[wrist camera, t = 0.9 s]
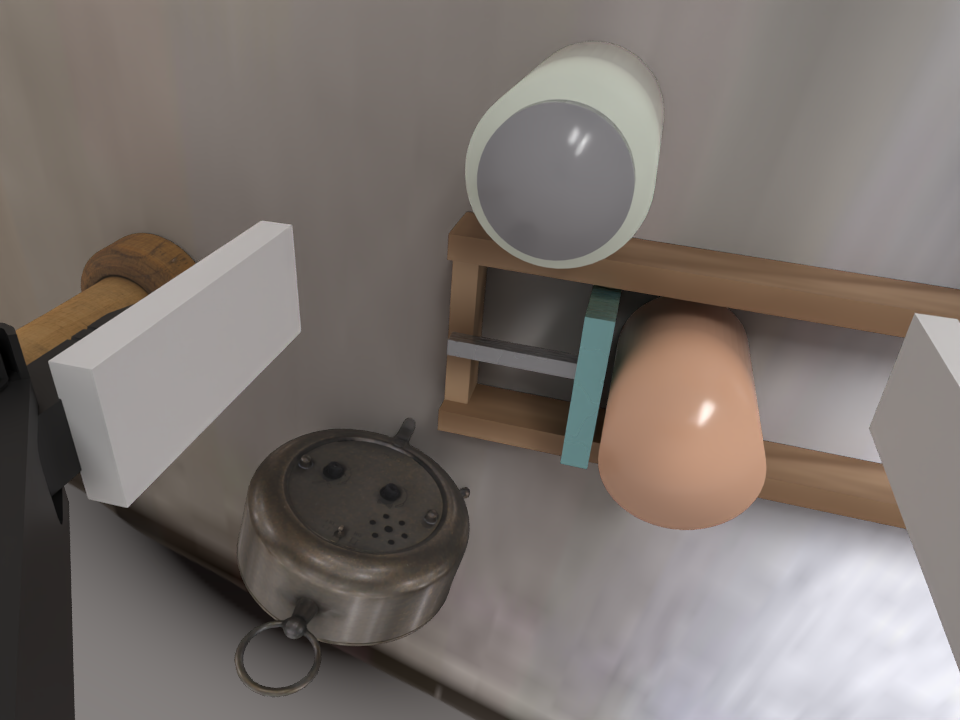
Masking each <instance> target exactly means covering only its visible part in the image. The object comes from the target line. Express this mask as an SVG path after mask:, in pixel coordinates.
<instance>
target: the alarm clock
mask: <svg viewBox="0 0 960 720" xmlns="http://www.w3.org/2000/svg"><path fill="white" fill-rule="evenodd" d="M414 429H415V421H414V420H413V419H411V418H407V419H406V420H405V421H404V422H403V425H402V427H401V428H400V430H399V432H398V434H397V435H396V436H394V437H389V436H386V435H382V434H378V433H374V432H369V431H363V430H353V429H332V430H323V431H317V432H313V433H310V434H306V435H303V436H300V437H298V438H295V439H293V440H291V441H289V442H287V443H285V444H284V445H282V446H280V447H279V448H277V449H276V450H275V451H273V452H272V453H271V454H270V455H269V456H268V457H267V458H266V459H265V460H264V461H263V462H262V463H261V464H260V466H259V467H258V468H257V470H256V472H255V474H254V476H253V477H252V479H251V482H250V485H249V488H248V493H247V497H246V503H245V508H244V513H243V518H242V524H241V529H240V533H239V537H238V543H237V561H238V566H239V570H240V574H241V576H242V579H243V581H244V583H245V585H246V587H247V589H248V591H249V592H250V594H251V595H252V597H253V598H254V599H255V601H256V602H257V603H258V604H259V605H260V606H261V607H262V608H263V609H264V610H265V612H267V613H268V614H269V615H270V616H271V617H273V618H274V619H275V620H277V621H271V622H267V623H265V624H262V625H260V626H258V627H256V628H254V629H253V630H251V631H250V632H249V633H248V634H247V635H246V636H245V637H244V638H243V639H242V640H241V642H240V644H239V646H238V648H237V650H236V653H235V659H234V660H235V665H236V670H237V673H238V676H239V678H240V679H241V681H242V682H243V683H244V685H245V686H246V687H248V688H249V689H250V690H252V691H253V692H256V693H258V694H260V695H263V696H269V697H280V696H286V695H289V694H292V693H295V692H297V691H299V690H301V689H303V688H305V687H306V686H307V685H308V684H309V683H310V682H312V680H313V679H314V678H315V676H316V674H317V673H318V671H319V667H320V663H321V648H320V644H319V642H318V641H322V642H326V643H330V644H336V645H345V646H369V645H378V644H382V643H387V642H391V641H394V640H397V639H400V638H403V637H405V636H407V635H409V634H411V633H413V632H415V631H417V630H418V629H420V628H421V627H422V626H424V625H425V624H426V623H427V622H429V621H430V620H431V619H432V618H433V617H434V616H435V615H436V614H437V612H438V611H439V610H440V608H441V607H442V605H443V604H444V602H445V600H446V598H447V595H448V593H449V590H450V586H451V584H452V581H453V579H454V576H455V574H456V571H457V569H458V567H459V565H460V562H461V560H462V558H463V555H464V553H465V550H466V547H467V543H468V538H469V516H468V511H467V507H466V504H465V501H464V499H463V498H467V497H469V495H470V489H469V488H467V487H464V488H462V489H460V490H459V489H458V487H457V486H456V484H455V483H454V481H453V480H452V479H451V477H450V476H449V475H448V474H447V473H446V471H445V470H444V469H442V468H441V467H440V466H439V465H438V464H437V463H436V462H435V461H434V460H432V459H431V458H430V457H429V456H427V455H426V454H424V453H423V452H421V451H420V450H418V449H416V448H415V447H413V446H411V445H409V443H408V442H409V439H410V437H411V435H412V434H413V431H414ZM273 627H282V628H283V630H284V633H285V635H286V636H287V637H290V638H292V639H297V638H300V637H301V636H306V637H307V638H308V640H309V641H310V642H311V643H312V645H313V648H314V653H315V660H314V664H313V666H312V668H311V670H310V672H309V673H308V675H307V676H306V677H304V678H303V679H302V680H300V681H299V682H297V683H295V684H293V685H290V686H288V687H281V688H271V687H265V686H262V685H259V684H258V683H256V682H254V681H253V680H252V679H251V678H250V676H249V675H248V674H247V672H246V671H245V668H244V664H243V654H244V651H245V648H246V646H247V644H248V642H249V641H250V640H251V639H252V638H253V637H254V636H256V635H257V634H258V633H260V632H261V631H263V630H265V629H268V628H273Z"/></svg>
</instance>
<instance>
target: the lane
mask: <svg viewBox="0 0 960 720" xmlns="http://www.w3.org/2000/svg"><path fill="white" fill-rule="evenodd" d="M447 260H452V261H453V266H452V282H451V299H450V315H449V332H448V338H449V337H450V335H451V333H452V332H458V333H463V334H468V335H474V336H479V337H481V334H482V322H483V311H484V299H485V288H486V276H487V267H493V268H499V269H505V270H510V271H516V272H522V273H528V274H534V275H540V276H546V277H552V278H557V279H563V280H569V281H575V282H581V283H587V284H593V285H598V286H604V287H610V288H616V289H622V290H628V291H634V292H640V293H645V294H651V295H657V296H663V297H669V298H675V299H681V300H687V301H692V302H698V303H704V304H710V305H716V306H722V307H728V308H733V309H739V310H745V311H751V312H757V313H763V314H769V315H775V316H780V317H786V318H792V319H798V320H804V321H810V322H816V323H822V324H827V325H833V326H839V327H845V328H851V329H857V330H863V331H868V332H874V333H880V334H886V335H892V336H898V337H904V338H905V336H906V334H907V331H908V329H909V326H910V324H911V321H912V319H913V316H914V314H915V313H917V314H925V315H932V316H939V317H946V318H953V319H958V321H959V322H960V290H959V289H953V288H947V287H940V286H934V285H928V284H921V283H915V282H909V281H902V280H896V279H890V278H883V277H877V276H871V275H864V274H858V273H852V272H845V271H839V270H833V269H826V268H820V267H814V266H807V265H801V264H795V263H788V262H782V261H776V260H770V259H763V258H757V257H751V256H744V255H738V254H732V253H725V252H719V251H713V250H706V249H700V248H694V247H687V246H681V245H675V244H668V243H662V242H656V241H649V240H643V239H637V238H631V239H630V240H629V241H628V242H627V243H626V244H625V245H624V246H623V247H621V248H620V249H619V250H617V251H616V252H615V253H613V254H611V255H610V256H608V257H606V258H604V259H602V260H600V261H598V262H595V263H593V264H589V265H585V266H582V267H576V268H564V269H556V268H547V267H542V266H538V265H534V264H531V263H528V262H526V261H523V260H521V259H519V258H517V257H515V256H513V255H512V254H510V253H509V252H507V251H506V250H504V249H503V248H502V247H500V246H499V245H498V244H497V243H496V242H495V241H494V240H493V239H492V238H491V237H490V236H489V235H488V234H487V233H486V231H485V230H484V229H483V227H482V226H481V224H480V223H479V221H478V219H477V217H476V216H475V214H474V213H472V212H466V213H465V214H464V215H463V217H462V218H461V219H460V220H459V222H458V223H457V224H456V225H455V226H454V228H453V229H452V230H451V231H450V233H449V235H448V253H447ZM478 368H479V361H477V360H472V359H467V358H461V357H456V356H451V355H447V365H446V381H445V398H444V401H443V403H442V405H441V407H440V409H439V414H438V430H441V431H446V432H451V433H455V434H460V435H465V436H470V437H474V438H479V439H484V440H488V441H493V442H498V443H503V444H507V445H512V446H517V447H522V448H526V449H531V450H536V451H540V452H545V453H550V454H555V455H559V456H562V451H563V445H564V439H565V433H566V427H567V421H568V415H569V409H570V403H571V402H568V401H563V400H558V399H553V398H548V397H543V396H537V395H532V394H527V393H522V392H517V391H512V390H507V389H502V388H497V387H492V386H487V385H482V384H477V379H478ZM605 414H606V409H603V408H599V410H598V415H597V420H596V425H595V430H594V436H593V441H592V446H591V451H590V456H589V461H588V462H592V463H597V464H598V455H599V448H600V442H601V437H602V431H603V425H604V419H605ZM763 444H764V450H765V457H766V467H767V468H766V478H765V481H764V485H763V487H762V489H761V492H760V494H759V495H758V498H762V499H767V500H772V501H777V502H781V503H786V504H791V505H796V506H800V507H805V508H810V509H814V510H819V511H824V512H829V513H833V514H838V515H843V516H847V517H852V518H857V519H862V520H866V521H871V522H876V523H881V524H885V525H890V526H895V527H899V528H904V529H906V526H905V523H904V521H903V518H902V515H901V513H900V510H899V507H898V504H897V502H896V499H895V496H894V494H893V491H892V488H891V486H890V483H889V480H888V478H887V475H886V472H885V469H884V467H883V464H880V463H875V462H870V461H865V460H860V459H855V458H850V457H845V456H839V455H834V454H829V453H824V452H819V451H814V450H809V449H804V448H799V447H794V446H789V445H784V444H779V443H774V442H769V441H764V440H763Z"/></svg>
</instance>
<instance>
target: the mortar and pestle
mask: <svg viewBox="0 0 960 720" xmlns="http://www.w3.org/2000/svg"><path fill="white" fill-rule="evenodd" d="M195 264H196V263H195V262H194V261H193V260H192V258H191V257H190V256H189V255H188V254H187V253H186V252H185V251H183V250H182V249H181V248H180V247H178V246H177V245H175V244H174V243H172V242H171V241H169V240H167V239H164V238H162V237H160V236H157V235H153V234H147V233H137V234H131V235H128V236H125V237H123V238H121V239H119V240H118V241H116V242H114V243H113V244H111V245H109V246H107V247H105V248H103V249H102V250H100V251H98V252H97V253H96V254H94V255H93V256H92V257H91V258H90V259H89V261H88V262H87V264H86V265H85V268H84V270H83V274H82V278H81V290H82V292H81V293H80V294H78V295H76V296H75V297H73V298H71V299H70V300H68V301H66V302H64V303H63V304H61V305H59V306H58V307H56V308H54V309H53V310H51V311H49V312H47V313H46V314H44V315H42V316H40V317H39V318H37V319H35V320H33V321H32V322H30V323H28V324H26V325H25V326H23V327H21V328H19V329H18V330H16V334H17V337H18V340H19V343H20V346H21V349H22V353H23V356H24V359H25V362H26V366H27V365H28V364H30V363H31V362H33V361H34V360H36V359H37V358H39V357H41V356H42V355H44V354H45V353H47V352H48V351H50V350H51V349H53V348H54V347H56V346H58V345H59V344H61V343H62V342H64V341H65V340H67V339H69V340H71V337H72V336H73V335H75V334H76V333H78V332H79V331H81V330H82V329H87V326H89V325H90V324H92V323H93V322H95V321H96V320H98V319H99V318H101V317H103V316H104V315H106V314H107V313H110V312H113V311H116V310H118V309H121V308H124V307H127V306H130V305H132V304H136V303H137V302H139V301H140V300H142V299H143V298H145V297H146V296H148V295H149V294H151V293H152V292H154V291H155V290H157V289H158V288H160V287H161V286H163V285H164V284H166V283H167V282H169V281H170V280H172V279H174V278H175V277H177V276H178V275H180V274H181V273H183V272H184V271H186V270H187V269H189V268H190V267H192V266H193V265H195Z"/></svg>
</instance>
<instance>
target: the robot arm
mask: <svg viewBox="0 0 960 720" xmlns="http://www.w3.org/2000/svg"><path fill="white" fill-rule="evenodd" d="M300 332H301V322H300V310H299V298H298V286H297V274H296V262H295V251H294V239H293V227H292V225H290V224H282V223H275V222H268V221H260V222H258V223H257V224H255V225H254V226H252V227H251V228H249V229H248V230H246V231H245V232H243V233H242V234H240V235H239V236H237V237H236V238H234V239H233V240H231V241H230V242H228V243H227V244H225V245H224V246H222V247H221V248H219V249H218V250H216V251H214V252H213V253H211V254H210V255H208V256H207V257H205V258H204V259H202V260H201V261H199V262H198V263H196V264H195V265H193V266H192V267H190V268H189V269H187V270H186V271H184V272H183V273H181V274H180V275H178V276H177V277H175V278H174V279H172V280H170V281H169V282H167V283H166V284H164V285H163V286H161V287H160V288H158V289H157V290H155V291H154V292H152V293H151V294H149V295H148V296H146V297H145V298H143V299H142V300H140V301H139V302H137V303H136V304H132V305H130V306H127V307H124V308H121V309H118V310H116V311H113V312H110V313H107V314H106V315H104V316H103V317H101V318H99V319H98V320H96V321H95V322H93V323H92V324H90V325H89V326H87V329H82V330H81V331H79V332H78V333H76V334H75V335H73V336H72V337H71V340H69V339H67V340H65V341H64V342H62V343H61V344H59V345H58V346H56V347H54V348H53V349H51V350H50V351H48V352H47V353H45V354H44V355H42V356H41V357H39V358H37V359H36V360H34V361H33V362H31V363H30V364H28V365H27V366H26V362H25V359H24V356H23V353H22V349H21V346H20V343H19V340H18V337H17V334H16V331H15V329H14V327H12V326H9V325H7V324H5V323H0V720H75V709H74V674H73V636H72V599H71V565H70V564H71V562H70V527H69V501H68V498H67V495H66V491H65V488H64V485H65V484H67V483H68V482H69V481H70V480H71V479H72V478H74V477H75V476H76V475H77V474H78V473H79V472H80V473H81V476H82V480H83V483H84V486H85V490H86V493H87V497H88V499H90V500H95V501H99V502H104V503H108V504H112V505H117V506H121V507H126V508H128V507H129V506H130V505H131V504H132V503H133V502H134V501H135V500H136V499H137V498H138V497H139V496H140V495H141V494H142V493H143V492H144V491H145V490H146V489H147V488H148V487H149V486H150V485H151V484H152V483H153V482H154V481H155V479H156V478H157V477H158V476H159V475H160V474H161V473H162V472H163V471H164V470H165V469H166V468H167V467H168V466H169V465H170V464H171V463H172V462H173V461H174V460H175V459H176V458H177V457H178V456H179V455H180V454H181V453H182V452H183V451H184V450H185V449H186V448H187V447H188V446H189V445H190V444H191V443H192V442H193V441H194V440H195V439H196V438H197V437H198V436H199V435H200V434H201V433H202V432H203V431H204V430H205V429H206V428H207V427H208V426H209V425H210V424H211V423H212V422H213V421H214V420H215V419H216V418H217V417H218V416H219V415H220V414H221V413H222V412H223V411H224V409H225V408H226V407H227V406H228V405H229V404H230V403H231V402H232V401H233V400H234V399H235V398H236V397H237V396H238V395H239V394H240V393H241V392H242V391H243V390H244V389H245V388H246V387H247V386H248V385H249V384H250V383H251V382H252V381H253V380H254V379H255V378H256V377H257V376H258V375H259V374H260V373H261V372H262V371H263V370H264V369H265V368H266V367H267V366H268V365H269V364H270V363H271V362H272V361H273V360H274V359H275V358H276V357H277V356H278V355H279V354H280V353H281V352H282V351H283V350H284V349H285V348H286V347H287V346H288V345H289V344H290V343H291V342H292V341H293V340H294V338H295V337H296V336H297V335H298V334H299V333H300ZM869 429H870V432H871V434H872V437H873V440H874V443H875V445H876V448H877V451H878V453H879V456H880V459H881V461H882V464H883V467H884V469H885V472H886V475H887V478H888V480H889V483H890V486H891V488H892V491H893V494H894V496H895V499H896V502H897V504H898V507H899V510H900V513H901V515H902V518H903V521H904V523H905V526H906V529H907V531H908V534H909V537H910V539H911V542H912V545H913V548H914V550H915V553H916V556H917V558H918V561H919V564H920V566H921V569H922V572H923V574H924V577H925V580H926V583H927V585H928V588H929V591H930V593H931V596H932V599H933V601H934V604H935V607H936V609H937V612H938V615H939V618H940V620H941V623H942V626H943V628H944V631H945V634H946V636H947V639H948V642H949V644H950V647H951V650H952V653H953V655H954V658H955V661H956V663H957V666H958V669H959V671H960V322H959V321H958V319H953V318H946V317H939V316H932V315H925V314H917V313H915V314H914V316H913V319H912V321H911V324H910V326H909V329H908V331H907V334H906V336H905V339H904V341H903V344H902V346H901V349H900V351H899V354H898V356H897V359H896V362H895V364H894V367H893V369H892V372H891V374H890V377H889V379H888V382H887V384H886V387H885V389H884V392H883V394H882V397H881V399H880V402H879V404H878V407H877V410H876V412H875V415H874V417H873V420H872V422H871V425H870V427H869Z"/></svg>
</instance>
